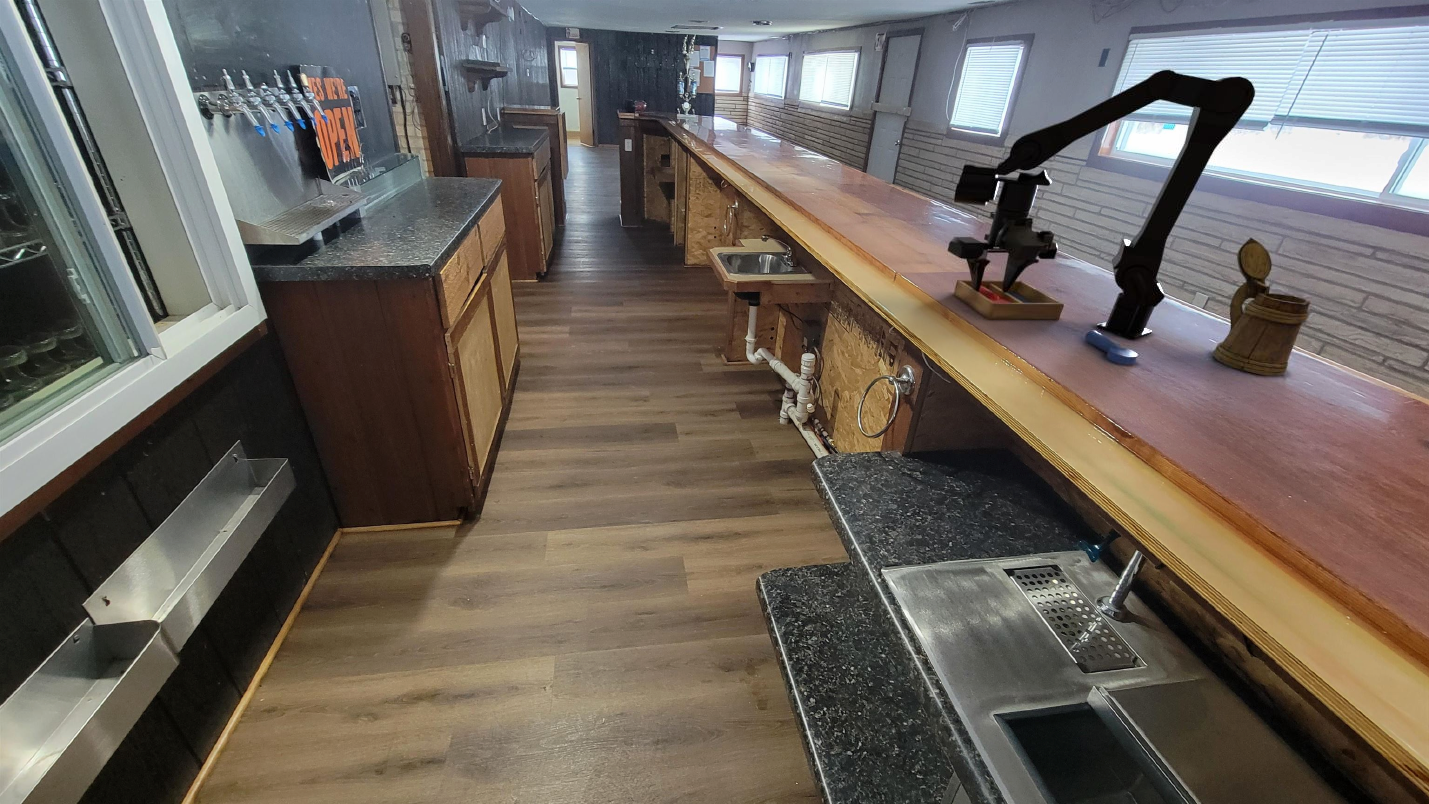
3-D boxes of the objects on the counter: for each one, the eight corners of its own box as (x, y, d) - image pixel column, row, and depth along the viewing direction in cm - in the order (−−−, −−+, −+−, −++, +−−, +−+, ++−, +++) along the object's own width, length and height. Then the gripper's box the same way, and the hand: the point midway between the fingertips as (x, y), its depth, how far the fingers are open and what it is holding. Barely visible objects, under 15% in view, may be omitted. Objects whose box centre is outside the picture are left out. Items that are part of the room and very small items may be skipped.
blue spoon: (1075, 339, 97) (1079, 328, 96) (1096, 339, 97) (1100, 328, 96) (1117, 365, 88) (1122, 353, 87) (1139, 365, 89) (1145, 353, 88)
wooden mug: (1218, 340, 99) (1272, 237, 90) (1299, 375, 88) (1370, 260, 79) (1175, 341, 98) (1226, 237, 89) (1252, 377, 86) (1319, 261, 77)
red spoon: (967, 294, 114) (970, 284, 113) (985, 294, 114) (987, 284, 113) (993, 312, 105) (996, 301, 104) (1012, 312, 106) (1015, 301, 105)
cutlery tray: (953, 294, 116) (957, 280, 114) (1017, 294, 117) (1021, 280, 116) (988, 319, 104) (993, 303, 102) (1059, 319, 105) (1064, 304, 104)
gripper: (987, 218, 94) (964, 306, 102) (1090, 219, 96) (1060, 306, 104) (956, 205, 104) (937, 287, 112) (1050, 206, 106) (1025, 287, 113)
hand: (990, 292), depth 110 cm, fingers open, 6 cm apart
